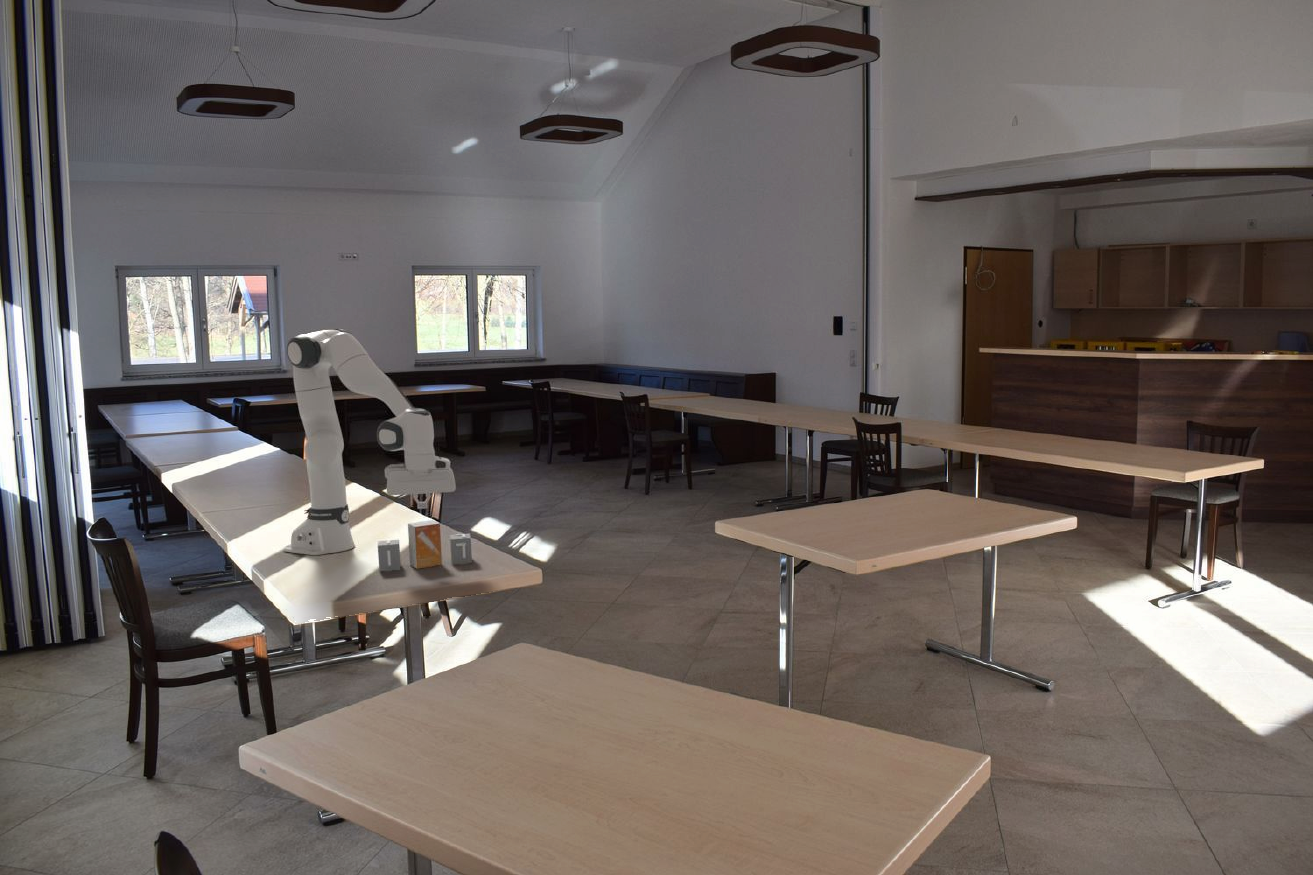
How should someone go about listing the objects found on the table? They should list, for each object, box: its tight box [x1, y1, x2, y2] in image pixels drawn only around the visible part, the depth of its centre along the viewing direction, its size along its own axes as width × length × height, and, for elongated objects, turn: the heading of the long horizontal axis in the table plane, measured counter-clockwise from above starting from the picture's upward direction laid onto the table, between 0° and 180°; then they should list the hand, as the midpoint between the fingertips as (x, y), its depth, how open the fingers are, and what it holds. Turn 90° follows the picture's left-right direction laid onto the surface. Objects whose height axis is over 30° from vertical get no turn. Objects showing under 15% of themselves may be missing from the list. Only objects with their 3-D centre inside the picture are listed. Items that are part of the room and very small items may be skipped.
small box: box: [407, 519, 443, 570], centre depth 294 cm, size 8×6×13 cm
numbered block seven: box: [449, 533, 473, 565], centre depth 296 cm, size 6×6×8 cm
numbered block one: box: [377, 539, 402, 573], centre depth 291 cm, size 6×6×8 cm
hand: (422, 508), depth 292 cm, fingers closed
